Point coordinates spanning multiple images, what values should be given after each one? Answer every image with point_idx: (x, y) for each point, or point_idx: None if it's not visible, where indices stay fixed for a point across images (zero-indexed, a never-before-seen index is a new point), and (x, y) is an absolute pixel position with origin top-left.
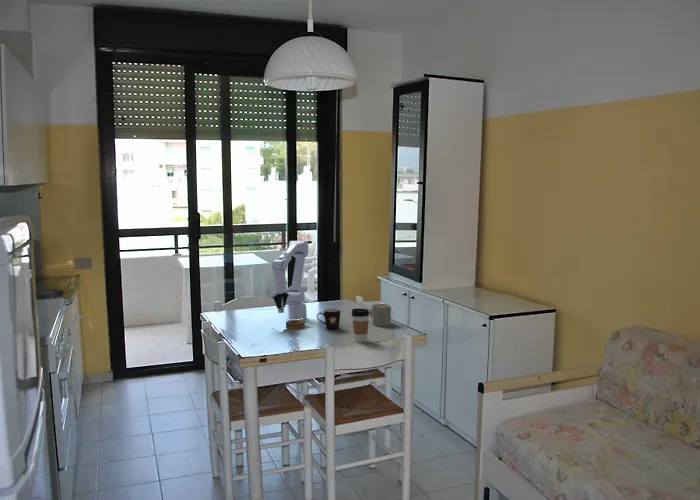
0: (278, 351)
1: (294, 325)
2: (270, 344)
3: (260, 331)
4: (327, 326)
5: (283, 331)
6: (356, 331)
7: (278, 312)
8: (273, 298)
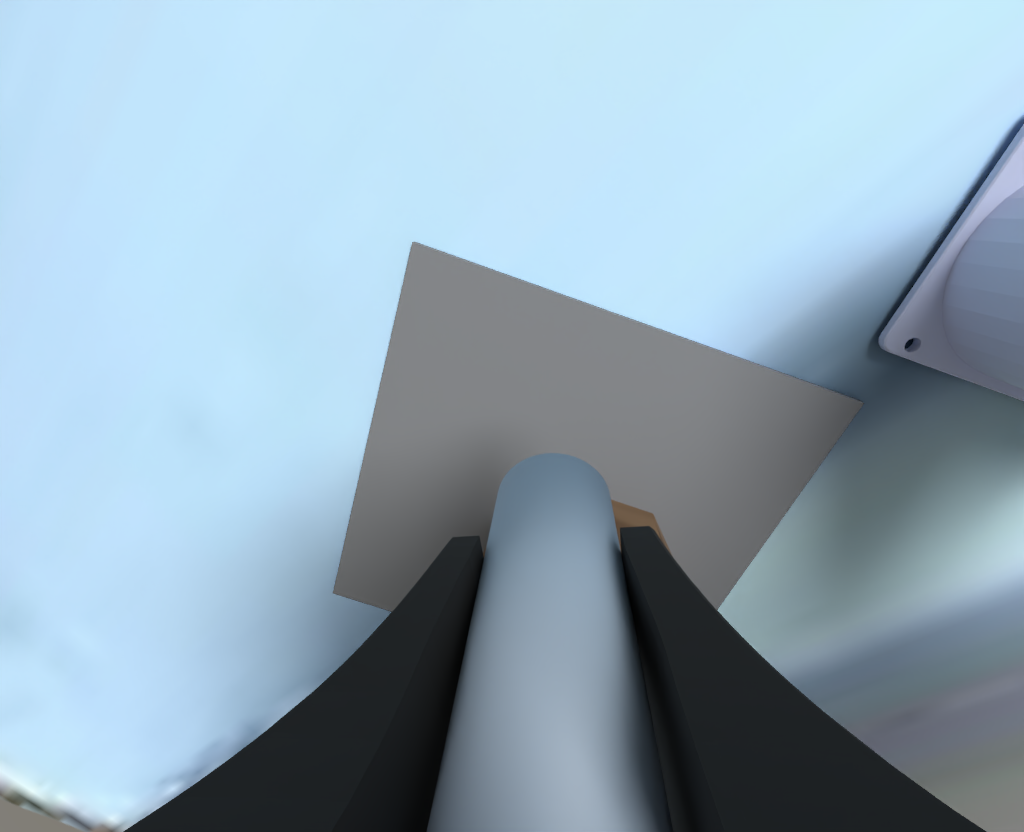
0: (61, 787)
1: None
2: (85, 689)
3: (224, 357)
4: None
5: (377, 574)
6: None
7: (498, 490)
8: (194, 800)
